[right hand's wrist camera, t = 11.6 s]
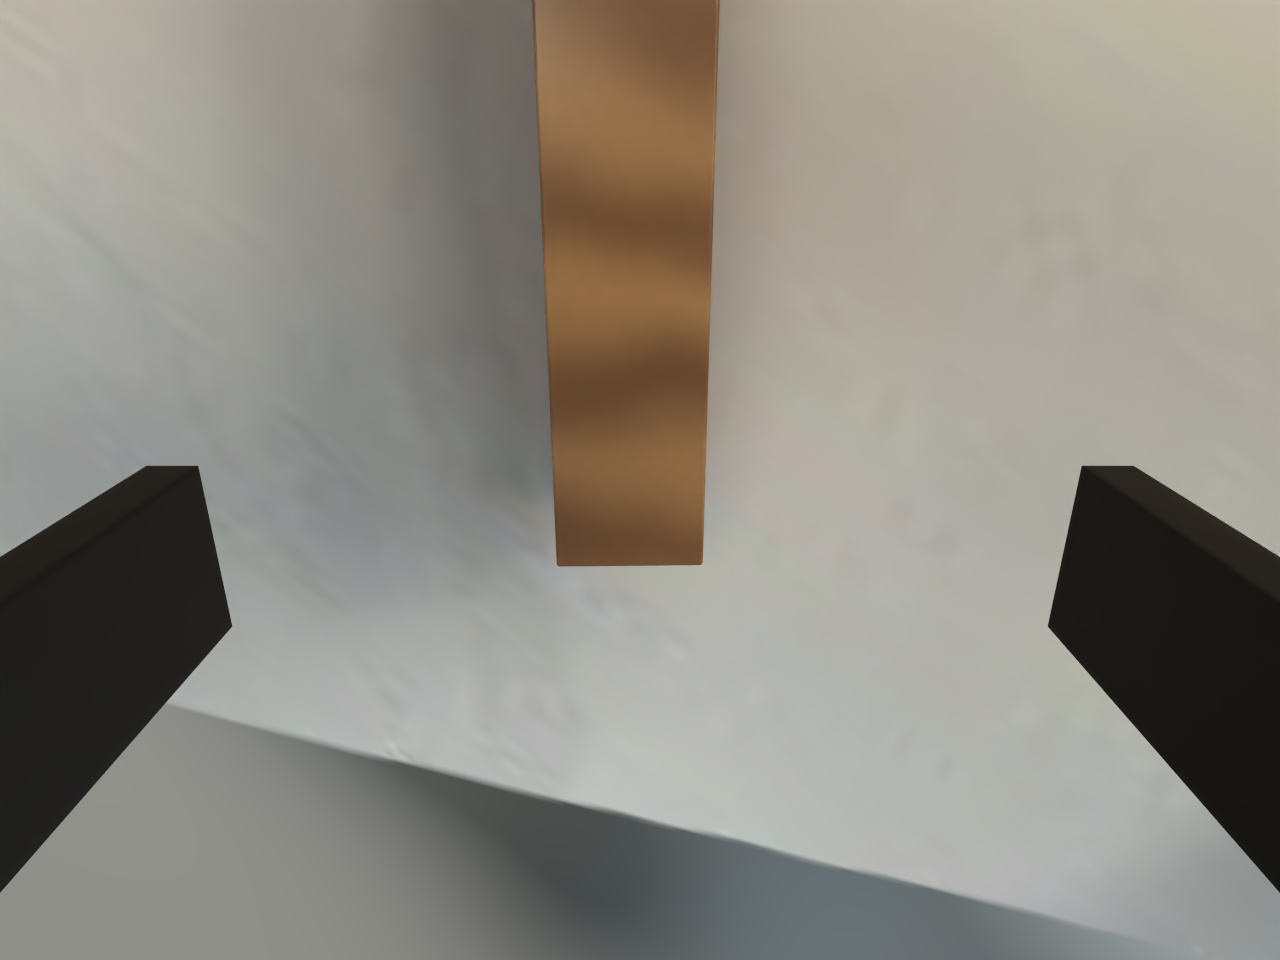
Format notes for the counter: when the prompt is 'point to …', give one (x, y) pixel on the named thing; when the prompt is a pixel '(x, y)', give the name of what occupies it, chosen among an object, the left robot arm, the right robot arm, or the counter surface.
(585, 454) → the beam
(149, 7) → the counter surface
